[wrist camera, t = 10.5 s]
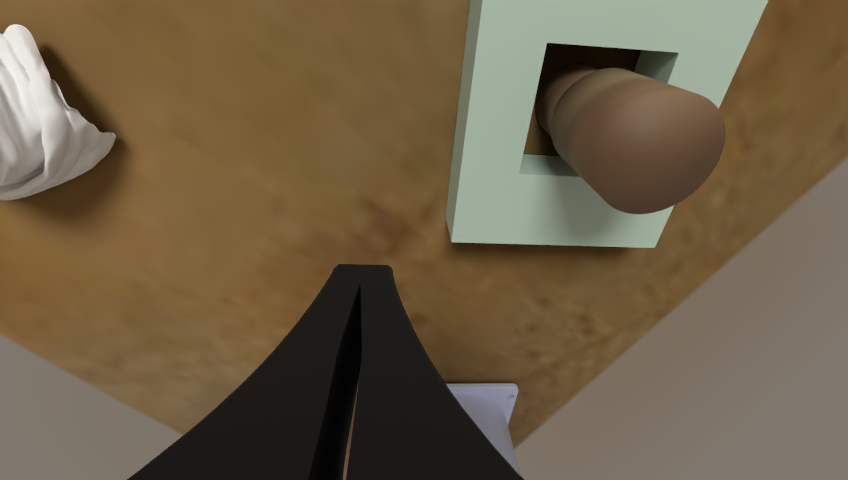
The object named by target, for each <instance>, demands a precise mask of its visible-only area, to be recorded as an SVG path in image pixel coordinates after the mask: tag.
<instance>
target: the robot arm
mask: <svg viewBox="0 0 848 480" xmlns="http://www.w3.org/2000/svg"><path fill="white" fill-rule="evenodd" d="M359 374H360V376H359ZM358 380H359V384H358ZM357 386H358V393H357V401H356V409H355V417H354V425H353V433H352V440H351V448H350V455H349V462H348V470H347V477H346V480H524V479H523V478H522V477H521V476H520V472H519V468H518V464H517V460H516V456H515V452H514V448H513V445H512V441H511V437H510V433H509V429H508V424H509V421H510V417H511V414H512V411H513V408H514V405H515V401H516V398H517V395H518V392H519V390H518V386H517V385H516V384H513V383H467V384H445V382H444V381H443V379H442V378H441V376H440V374H439V373H438V371H437V370H436V368H435V367H434V365H433V363H432V362H431V360H430V358H429V357H428V355H427V353H426V352H425V350H424V348H423V346H422V344H421V342H420V341H419V339H418V337H417V335H416V333H415V331H414V329H413V327H412V325H411V323H410V320H409V318H408V316H407V314H406V312H405V310H404V307H403V305H402V302H401V300H400V297H399V294H398V291H397V288H396V285H395V281H394V277H393V271H392V268H391V267H389V266H388V265H353V264H339V265H337V266H336V267H335V268H334V270H333V272H332V274H331V275H330V277H329V279H328V280H327V282H326V283H325V285H324V287H323V288H322V290H321V291H320V293H319V294H318V295H317V297H316V298H315V300H314V301H313V303H312V304H311V305H310V307H309V308H308V309H307V311H306V312H305V313H304V315H303V316H302V317H301V319H300V320H299V321H298V323H297V324H296V325H295V326H294V327H293V329H292V330H291V331H290V332H289V333H288V335H287V336H286V337H285V338H284V339H283V340H282V342H281V343H280V344H279V345H278V346H277V348H276V349H275V350H274V351H273V352H272V353H271V354H270V355H269V356H268V358H267V359H266V360H265V361H264V362H263V363H262V364H261V365H260V366H259V367H258V368H257V369H256V370H255V371H254V372H253V373H252V374H251V375H250V376H249V377H248V378H247V379H246V380H245V381H244V382H243V383H242V384H241V385H240V386H239V387H238V388H237V389H236V390H235V391H234V392H233V393H232V394H230V395H229V396H228V397H227V398H226V399H225V400H224V401H223V402H222V403H221V404H220V405H218V406H217V407H216V408H215V409H214V410H213V411H212V412H211V413H210V414H208V415H207V416H206V417H205V418H204V419H203V420H202V421H200V422H199V423H198V424H197V425H196V426H195V427H193V428H192V429H191V430H190V431H188V432H187V433H186V434H185V435H183V436H182V437H181V438H180V439H178V440H177V441H176V442H175V443H173V444H172V445H171V446H170V447H168V448H167V449H166V450H165V451H163V452H162V453H161V454H160V455H158V456H157V457H156V458H155V459H153V460H152V461H151V462H150V463H149V464H147V465H146V466H144V467H143V468H142V469H141V470H139V471H138V472H137V473H135V474H134V475H133V476H131V477H130V478H129V479H127V480H343V471H344V462H345V455H346V448H347V442H348V436H349V431H350V425H351V420H352V414H353V408H354V403H355V397H356V391H357Z"/></svg>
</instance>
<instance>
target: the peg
mask: <svg viewBox="0 0 848 480" xmlns="http://www.w3.org/2000/svg"><path fill="white" fill-rule="evenodd" d="M535 111H536V117H537V120H538V122H539V124H540V126H541V127H542V128H543V130H544V131H545V132H547V133H548V134H549V135H550V136H551V137H552V142H553V145H554V147H555V149H556V151H557V153H558V154H559V155H560V156H561V157H562V158H563V159H564V160H565V161H566V162H567V163H568V164H569V165H570V166H571V167H572V168H573V169H574V170H575V171H576V172H577V173H578V174H579V175H580V176H581V177H582V178H583V179H584V180H585V181H586V182H587V183H588V184H589V185H590V186H591V187H592V188H593V189H594V190H595V191H596V192H597V193H598V194H599V195H600V196H601V197H602V198H603V199H604V200H605V201H606V202H607V203H608V204H609V205H610V206H611V207H613V208H615V209H617V210H618V211H621V212H624V213H629V214H649V213H654V212H658V211H661V210H664V209H667V208H669V207H671V206H673V205H675V204H677V203H679V202H681V201H682V200H684V199H685V198H687V197H688V196H689V195H691V194H692V193H693V192H694V191H695V190H697V189H698V188H699V187H700V186H701V185H702V184H703V183H704V182H705V180H706V179H707V178H708V177H709V175H710V174H711V172H712V171H713V169H714V168H715V166H716V164H717V162H718V160H719V158H720V156H721V153H722V150H723V146H724V142H725V124H724V119H723V117H722V114H721V112H720V111H719V109H718V108H717V106H716V105H715V104H714V103H713V102H712V101H710V100H709V99H708V98H706V97H704V96H702V95H699V94H697V93H694V92H691V91H688V90H685V89H682V88H679V87H676V86H673V85H670V84H667V83H664V82H661V81H658V80H655V79H652V78H649V77H646V76H644V75H641V74H638V73H635V72H632V71H629V70H626V69H622V68H605V69H600V70H599V69H597V68H594V67H592V66H589V65H585V64H572V65H568V66H565V67H563V68H561V69H559V70H557V71H556V72H554V73H553V74H552V75H551V76H550V77H549V78H548V79H547V80H546V81H545V82H544V84H543V85H542V87H541V89H540V91H539V93H538V96H537V100H536V106H535Z"/></svg>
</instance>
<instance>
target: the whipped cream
mask: <svg viewBox="0 0 848 480" xmlns="http://www.w3.org/2000/svg"><path fill="white" fill-rule="evenodd" d="M115 138H116V135H115V134H114V133H112V132H105V133H102V132H99V131H98V129H97V128H96V126H95V125H94V124H91V123H89V122H88V121H87V120H85V119H84V118H83V117H82V116H81V115H80V113H79V111H78V110H77V109H74V108H71V107H69V106H68V105H67V104H66V102H65V100H64V98H63V95H62V93H61V90H60V88H59V86H58V84H57V83H56V81H54V80H52V79H50V75H49V72H48V69H47V67H46V66H45V64H44V61H43V59H42V57H41V55H40V53H39V50H38V48H37V46H36V43H35V41H34V39H33V37H32V35H31V33H30V32H29V31H28V29H27V28H25V27H24V26H22V25H18V24H15V25H10V26H9V27H8V28H7V29H6V31H5V32H4V33H3V34H2V33H1V32H0V200H15V199H20V198H24V197H27V196H30V195H33V194H36V193H39V192H42V191H44V190H47V189H48V188H51V187H54V186H57V185H60V184H62V183H64V182H66V181H68V180H71V179H74V178H76V177H77V176H79V175H81V174H83V173H85V172H87V171H88V170H90V169H92V168H93V167H94V166H95V165H96V164H97V163H98V162H99V161H100V160H101V159H103V158H104V157H105V156H106V155H107V154H108V153H109V152H110V150H111V148H112V146H113V144H114V142H115Z"/></svg>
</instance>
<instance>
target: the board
mask: <svg viewBox="0 0 848 480" xmlns="http://www.w3.org/2000/svg"><path fill="white" fill-rule="evenodd" d="M767 2H768V0H470V8H469V17H468V25H467V34H466V43H465V51H464V60H463V69H462V77H461V86H460V95H459V103H458V112H457V121H456V129H455V138H454V146H453V155H452V164H451V172H450V181H449V190H448V198H447V207H446V221H447V225H448V230H449V234H450V239H451V242H460V243H496V244H532V245H567V246H603V247H639V248H655V246H656V244H657V242H658V239H659V237H660V235H661V233H662V231H663V229H664V226H665V224H666V222H667V220H668V218H669V215H670V213H671V211H672V209H673V207H674V205H673V206H671V207H669V208H667V209H664V210H661V211H658V212H654V213H649V214H629V213H624V212H621V211H618V210H617V209H615V208H613V207H611V206H610V205H609V204H608V203H607V202H606V201H605V200H604V199H603V198H602V197H601V196H600V195H599V194H598V193H597V192H596V191H595V190H594V189H593V188H592V187H591V186H590V185H589V184H588V183H587V182H586V181H585V180H584V179H583V178H582V177H581V176H580V175H579V174H578V173H577V172H576V171H575V170H574V169H573V168H572V167H571V166H570V165H569V164H568V163H567V162H566V161H565V160H564V159H563V158H562V157H561V156H548V155H528V154H523V153H524V148H525V143H526V139H527V134H528V129H529V125H530V120H531V115H532V111H533V106H534V101H535V97H536V92H537V87H538V83H539V78H540V73H541V69H542V64H543V59H544V55H545V50H546V45H547V43H558V44H571V45H584V46H597V47H610V48H624V49H637V50H641V52H640V55H639V58H638V61H637V64H636V67H635V70H634V72H635V73H638V74H641V75H644V76H646V77H649V78H652V79H655V80H658V81H661V82H664V83H667V84H670V85H673V86H676V87H679V88H682V89H685V90H688V91H691V92H694V93H697V94H699V95H702V96H704V97H706V98H708V99H709V100H710V101H712V102H713V103H714V104H715V105H716V106H717V108H718V109H719V107H720V104H721V102H722V100H723V98H724V96H725V94H726V91H727V89H728V87H729V85H730V83H731V80H732V78H733V76H734V74H735V72H736V70H737V67H738V65H739V63H740V61H741V59H742V57H743V54H744V52H745V50H746V48H747V46H748V43H749V41H750V39H751V37H752V35H753V33H754V30H755V28H756V26H757V24H758V22H759V20H760V17H761V15H762V13H763V11H764V9H765V6H766V4H767Z"/></svg>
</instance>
